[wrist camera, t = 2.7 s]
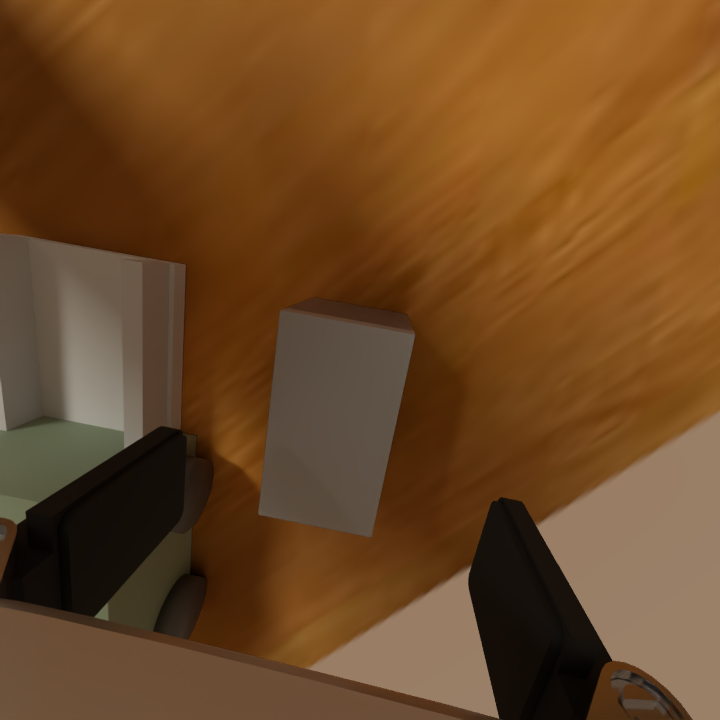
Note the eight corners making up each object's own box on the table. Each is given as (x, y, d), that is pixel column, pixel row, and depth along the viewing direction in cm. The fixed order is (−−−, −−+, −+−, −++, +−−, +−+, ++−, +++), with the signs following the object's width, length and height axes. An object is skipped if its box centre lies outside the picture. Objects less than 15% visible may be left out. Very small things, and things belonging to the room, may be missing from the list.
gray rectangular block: (314, 297, 18) (279, 310, 12) (406, 313, 18) (415, 334, 12) (294, 446, 21) (258, 514, 15) (376, 461, 20) (371, 537, 15)
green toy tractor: (-15, 228, 18) (-554, 173, 8) (226, 271, 18) (-2, 275, 7) (26, 575, 25) (-243, 802, 14) (204, 613, 24) (64, 876, 14)
